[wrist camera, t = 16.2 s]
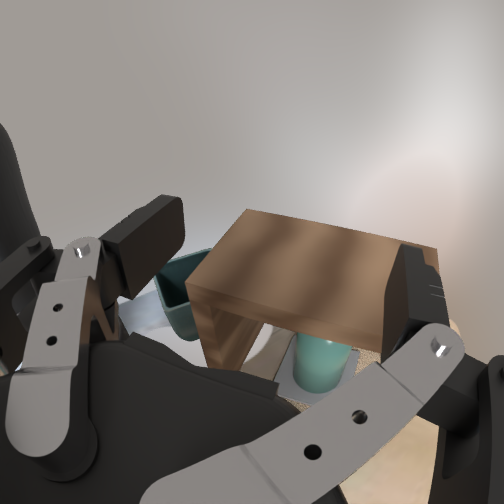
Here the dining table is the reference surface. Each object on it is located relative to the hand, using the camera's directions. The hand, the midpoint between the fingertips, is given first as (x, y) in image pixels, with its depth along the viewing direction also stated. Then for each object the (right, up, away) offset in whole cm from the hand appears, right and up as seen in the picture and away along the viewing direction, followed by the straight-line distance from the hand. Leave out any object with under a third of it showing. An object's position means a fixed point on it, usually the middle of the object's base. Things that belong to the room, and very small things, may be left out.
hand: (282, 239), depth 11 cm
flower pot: (-8, -10, +32) cm, 35 cm away
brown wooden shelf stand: (+6, -15, +25) cm, 30 cm away
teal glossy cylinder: (+7, -15, +24) cm, 29 cm away
